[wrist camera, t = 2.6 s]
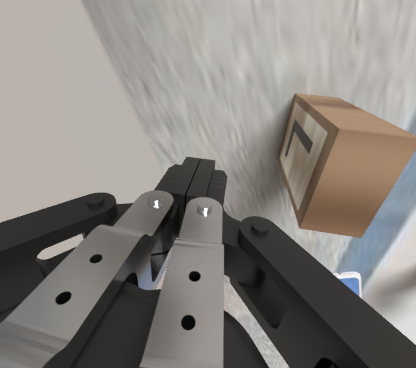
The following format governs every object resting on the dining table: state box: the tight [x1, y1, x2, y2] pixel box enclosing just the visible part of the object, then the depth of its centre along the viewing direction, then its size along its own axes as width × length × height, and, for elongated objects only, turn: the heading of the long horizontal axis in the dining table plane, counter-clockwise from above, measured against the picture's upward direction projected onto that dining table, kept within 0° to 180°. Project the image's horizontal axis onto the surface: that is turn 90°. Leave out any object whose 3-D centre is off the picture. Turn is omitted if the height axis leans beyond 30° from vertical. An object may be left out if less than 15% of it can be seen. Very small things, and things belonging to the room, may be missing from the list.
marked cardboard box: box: [278, 94, 416, 238], centre depth 16 cm, size 6×4×10 cm, turn 175°
